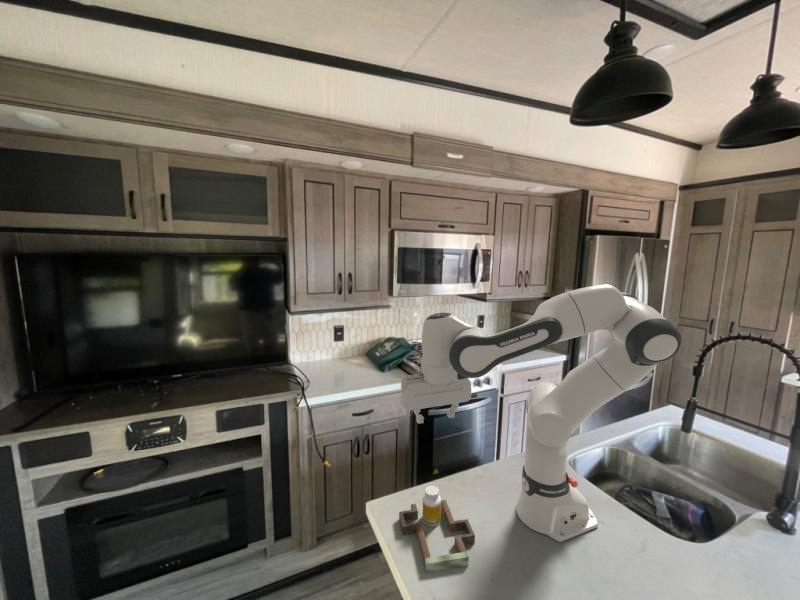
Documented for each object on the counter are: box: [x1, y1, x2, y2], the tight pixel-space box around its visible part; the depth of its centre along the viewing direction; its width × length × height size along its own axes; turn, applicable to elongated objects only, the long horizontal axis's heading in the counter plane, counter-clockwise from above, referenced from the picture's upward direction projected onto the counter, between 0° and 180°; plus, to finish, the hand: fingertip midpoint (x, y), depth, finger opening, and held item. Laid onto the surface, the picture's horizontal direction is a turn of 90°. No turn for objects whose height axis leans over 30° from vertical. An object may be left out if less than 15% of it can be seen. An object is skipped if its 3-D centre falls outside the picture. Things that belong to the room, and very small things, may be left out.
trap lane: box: [398, 499, 476, 573], centre depth 92 cm, size 19×20×2 cm
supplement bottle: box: [422, 485, 442, 527], centre depth 97 cm, size 5×5×10 cm
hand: (435, 419), depth 91 cm, fingers open, 8 cm apart
